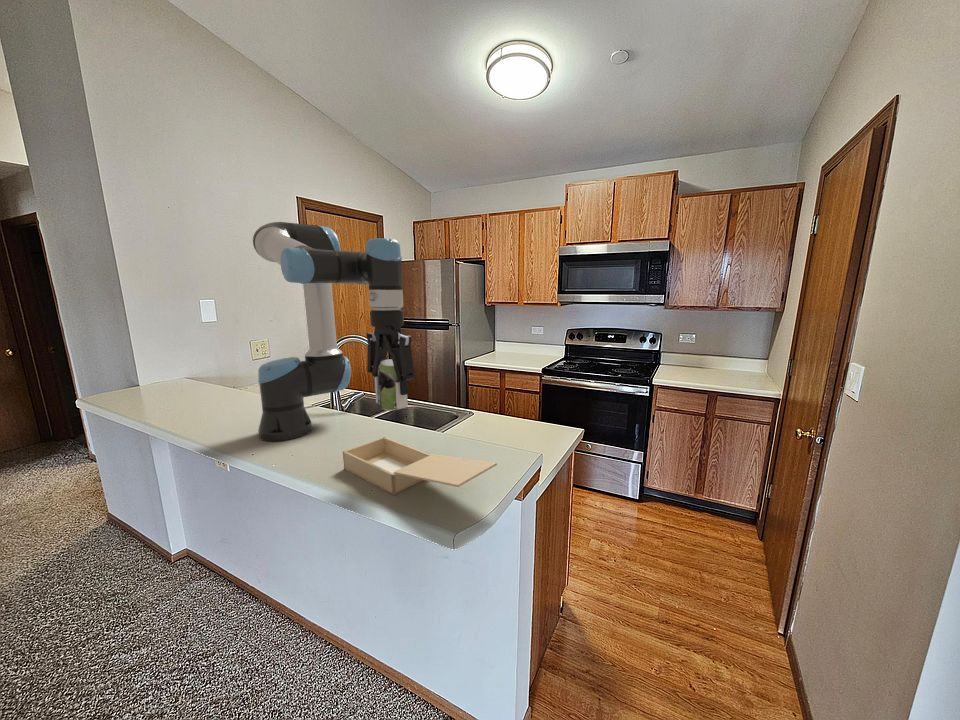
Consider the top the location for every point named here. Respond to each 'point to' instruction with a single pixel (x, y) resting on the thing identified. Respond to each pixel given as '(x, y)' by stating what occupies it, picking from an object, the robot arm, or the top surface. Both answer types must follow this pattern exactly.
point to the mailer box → (383, 463)
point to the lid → (446, 469)
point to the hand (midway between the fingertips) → (391, 404)
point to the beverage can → (387, 385)
